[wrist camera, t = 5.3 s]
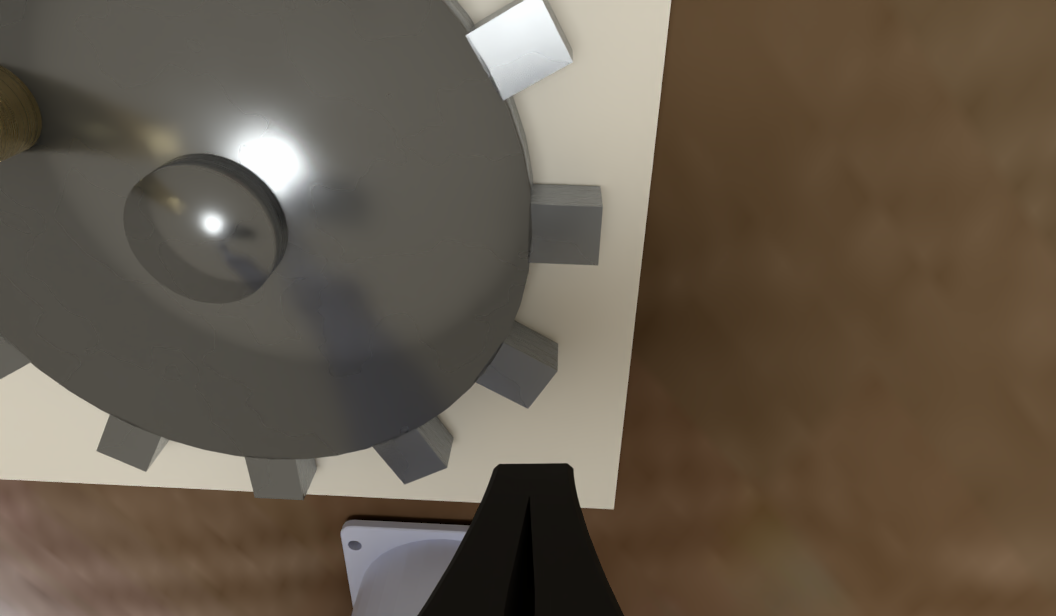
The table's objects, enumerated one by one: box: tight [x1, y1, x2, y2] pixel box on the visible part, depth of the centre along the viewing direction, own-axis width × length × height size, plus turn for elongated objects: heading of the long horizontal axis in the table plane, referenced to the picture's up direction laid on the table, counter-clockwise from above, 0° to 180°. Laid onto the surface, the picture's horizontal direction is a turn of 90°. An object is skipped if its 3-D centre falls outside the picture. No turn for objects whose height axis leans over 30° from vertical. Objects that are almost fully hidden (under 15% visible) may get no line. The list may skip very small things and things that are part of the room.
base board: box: [0, 0, 671, 509], centre depth 19 cm, size 22×22×2 cm
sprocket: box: [0, 0, 603, 500], centre depth 17 cm, size 19×19×5 cm
